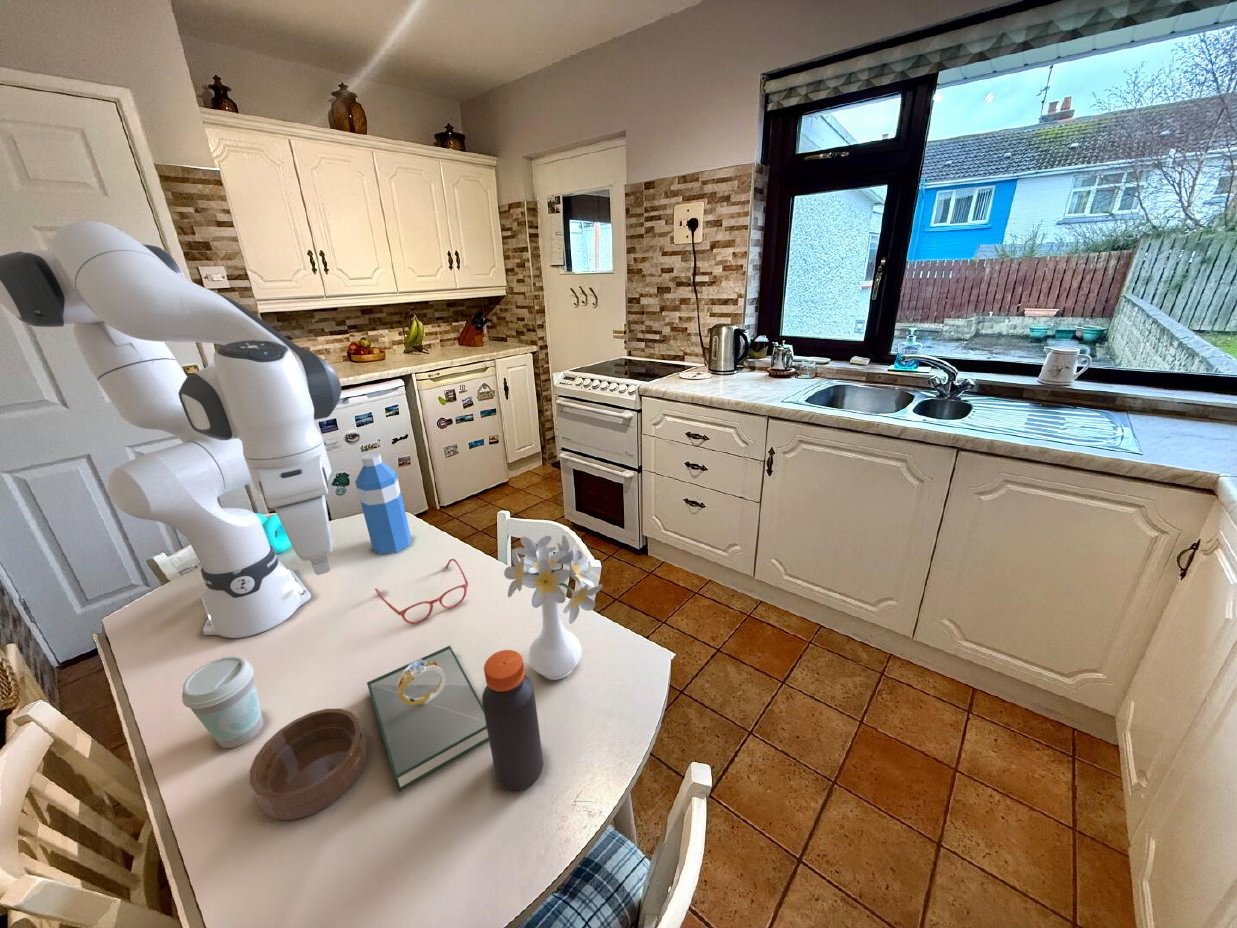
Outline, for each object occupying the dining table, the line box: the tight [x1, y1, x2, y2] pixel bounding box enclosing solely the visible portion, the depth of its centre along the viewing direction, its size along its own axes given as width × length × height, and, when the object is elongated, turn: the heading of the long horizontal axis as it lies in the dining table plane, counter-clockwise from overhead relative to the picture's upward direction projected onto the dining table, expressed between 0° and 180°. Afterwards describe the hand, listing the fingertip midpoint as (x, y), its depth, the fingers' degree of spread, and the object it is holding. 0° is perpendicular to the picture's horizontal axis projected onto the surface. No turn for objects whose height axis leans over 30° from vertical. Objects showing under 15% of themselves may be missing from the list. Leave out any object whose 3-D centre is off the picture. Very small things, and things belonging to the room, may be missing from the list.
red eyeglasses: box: [374, 558, 469, 625], centre depth 105 cm, size 17×16×5 cm
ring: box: [398, 658, 446, 705], centre depth 76 cm, size 7×3×8 cm, turn 118°
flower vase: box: [503, 535, 603, 681], centre depth 82 cm, size 13×18×25 cm
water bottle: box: [354, 452, 412, 555], centre depth 122 cm, size 9×9×25 cm
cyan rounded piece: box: [254, 512, 292, 554], centre depth 124 cm, size 10×10×10 cm
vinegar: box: [481, 649, 544, 792], centre depth 66 cm, size 7×7×20 cm
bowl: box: [249, 708, 368, 821], centre depth 69 cm, size 13×13×5 cm
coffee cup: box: [181, 655, 264, 749], centre depth 74 cm, size 8×8×12 cm
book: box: [366, 645, 489, 792], centre depth 78 cm, size 20×14×3 cm
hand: (319, 555), depth 70 cm, fingers open, 8 cm apart
